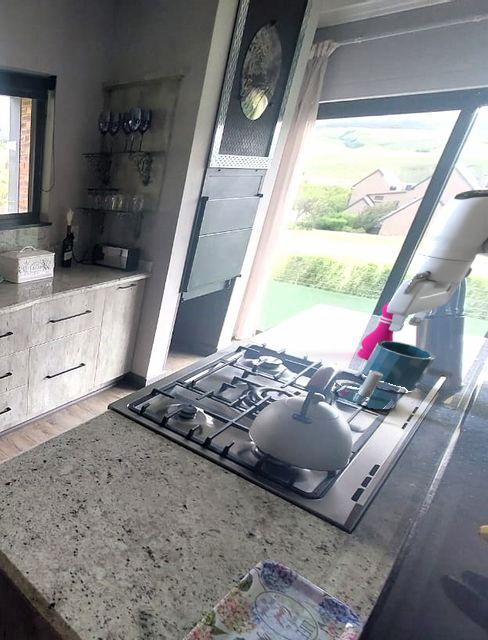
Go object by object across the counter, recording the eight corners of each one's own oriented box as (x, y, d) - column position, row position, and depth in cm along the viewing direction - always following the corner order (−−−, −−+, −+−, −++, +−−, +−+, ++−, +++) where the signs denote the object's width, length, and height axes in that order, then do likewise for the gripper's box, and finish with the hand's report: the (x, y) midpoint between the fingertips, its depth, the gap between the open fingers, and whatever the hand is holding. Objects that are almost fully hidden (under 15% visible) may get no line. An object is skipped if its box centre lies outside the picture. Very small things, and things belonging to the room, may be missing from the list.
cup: (421, 388, 112) (443, 354, 107) (400, 397, 108) (422, 362, 102) (372, 370, 121) (390, 338, 116) (351, 377, 117) (369, 344, 111)
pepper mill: (381, 364, 125) (417, 302, 115) (352, 356, 130) (384, 296, 120) (386, 358, 129) (421, 298, 119) (358, 350, 134) (389, 292, 124)
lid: (402, 405, 104) (419, 379, 100) (377, 416, 99) (394, 389, 95) (347, 382, 113) (361, 358, 110) (322, 391, 108) (335, 366, 105)
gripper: (434, 277, 83) (398, 339, 90) (475, 269, 91) (440, 326, 98) (396, 270, 88) (365, 329, 94) (439, 263, 96) (408, 317, 103)
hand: (404, 327), depth 96 cm, fingers open, 8 cm apart
